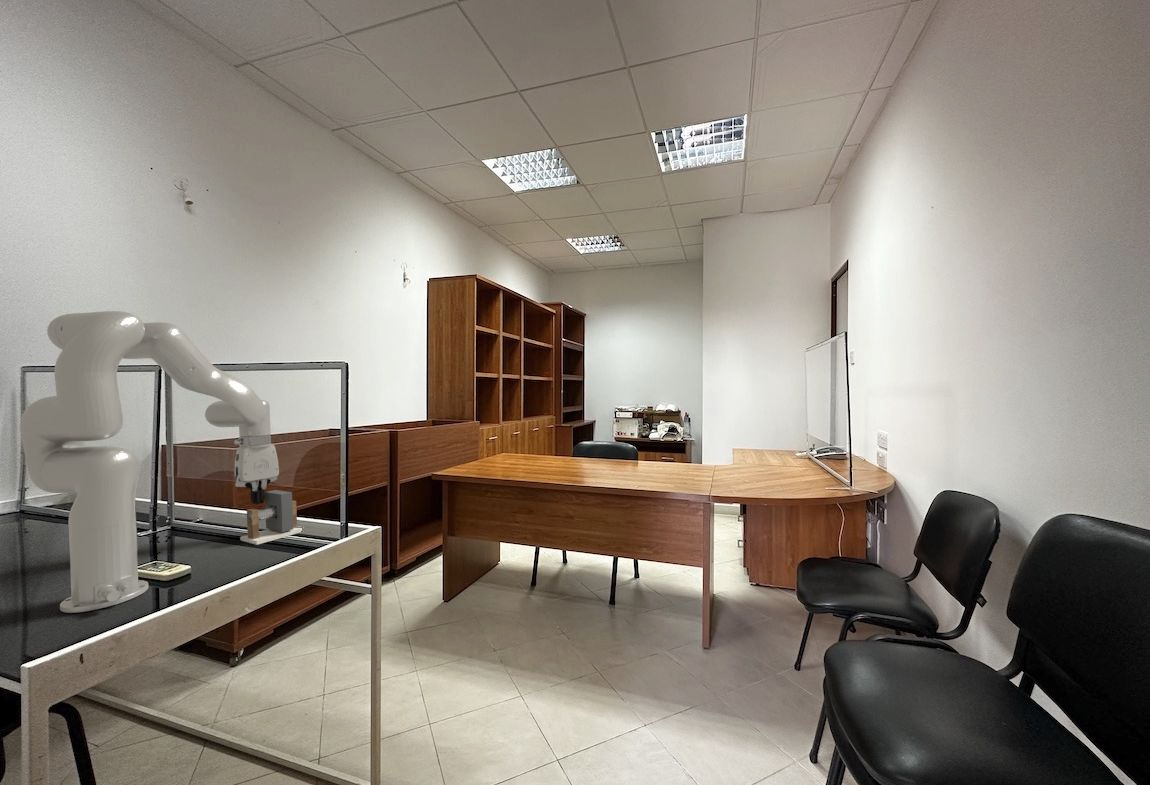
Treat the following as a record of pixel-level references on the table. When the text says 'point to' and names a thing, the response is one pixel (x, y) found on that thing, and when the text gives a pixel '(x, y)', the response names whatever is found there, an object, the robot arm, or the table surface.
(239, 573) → the table surface
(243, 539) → the pipe stand
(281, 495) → the upright gray rectangular block
